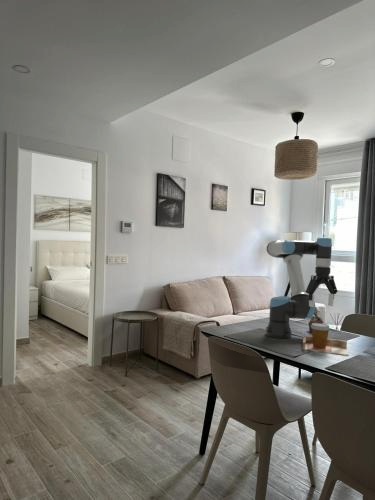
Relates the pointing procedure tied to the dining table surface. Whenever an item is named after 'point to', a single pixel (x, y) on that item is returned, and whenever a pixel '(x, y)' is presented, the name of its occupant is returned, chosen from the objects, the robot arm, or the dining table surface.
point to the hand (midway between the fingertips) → (321, 306)
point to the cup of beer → (319, 335)
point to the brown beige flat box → (327, 346)
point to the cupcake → (314, 321)
